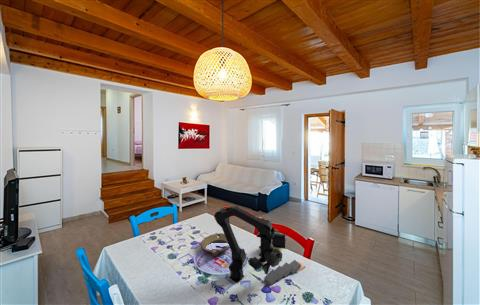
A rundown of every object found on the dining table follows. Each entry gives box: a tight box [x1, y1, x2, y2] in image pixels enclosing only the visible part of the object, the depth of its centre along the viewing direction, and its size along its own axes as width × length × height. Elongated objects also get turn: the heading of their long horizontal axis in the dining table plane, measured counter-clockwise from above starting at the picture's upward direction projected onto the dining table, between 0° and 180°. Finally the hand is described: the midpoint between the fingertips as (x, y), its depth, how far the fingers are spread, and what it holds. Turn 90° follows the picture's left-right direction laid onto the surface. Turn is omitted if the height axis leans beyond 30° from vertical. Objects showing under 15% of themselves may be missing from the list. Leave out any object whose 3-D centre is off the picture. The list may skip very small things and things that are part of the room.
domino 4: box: [288, 259, 301, 275], centre depth 120 cm, size 2×5×7 cm
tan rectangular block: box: [295, 261, 307, 273], centre depth 122 cm, size 2×5×7 cm
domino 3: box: [281, 262, 293, 278], centre depth 117 cm, size 2×5×7 cm
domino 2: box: [274, 264, 287, 282], centre depth 114 cm, size 2×5×7 cm
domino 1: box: [263, 268, 280, 286], centre depth 111 cm, size 2×5×7 cm
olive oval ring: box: [200, 232, 231, 257], centre depth 142 cm, size 22×30×8 cm
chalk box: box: [270, 228, 283, 252], centre depth 140 cm, size 9×9×15 cm
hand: (266, 273), depth 109 cm, fingers closed
